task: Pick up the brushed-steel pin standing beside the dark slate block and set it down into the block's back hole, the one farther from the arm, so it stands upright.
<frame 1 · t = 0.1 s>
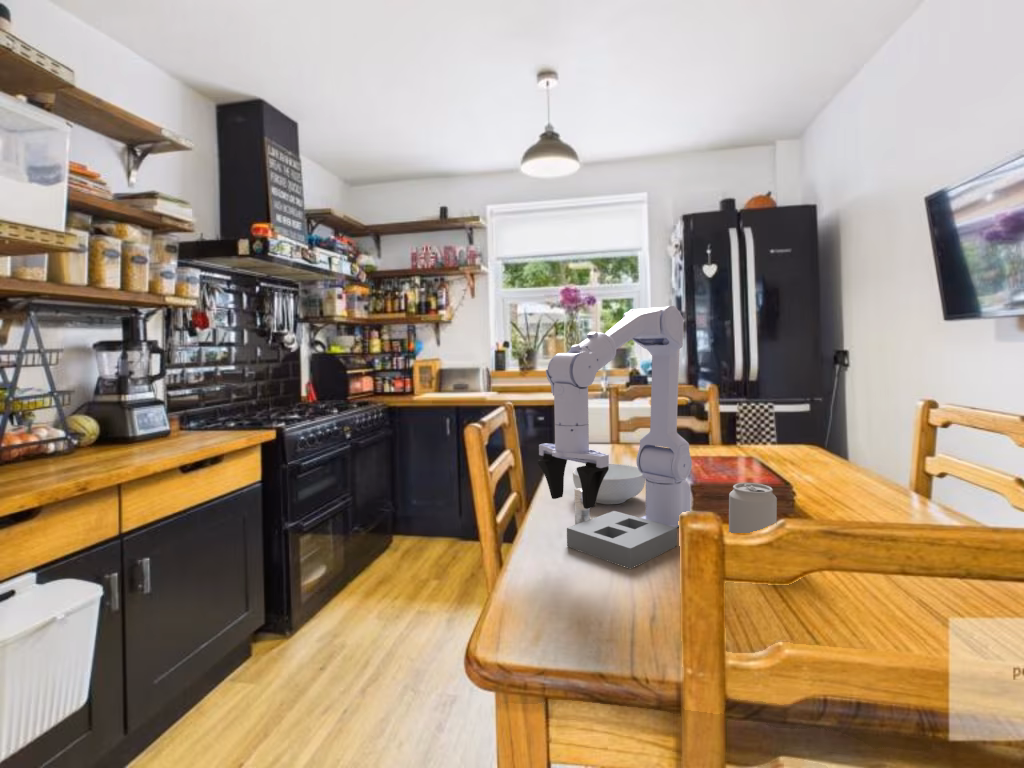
hand: (572, 502, 91), 10 cm above the table, tool pointing down, fingers open, 7 cm apart
pin: (582, 529, 107), on the table
cereal bowl: (608, 500, 127), on the table
can: (752, 555, 93), on the table
hole block: (621, 546, 97), on the table
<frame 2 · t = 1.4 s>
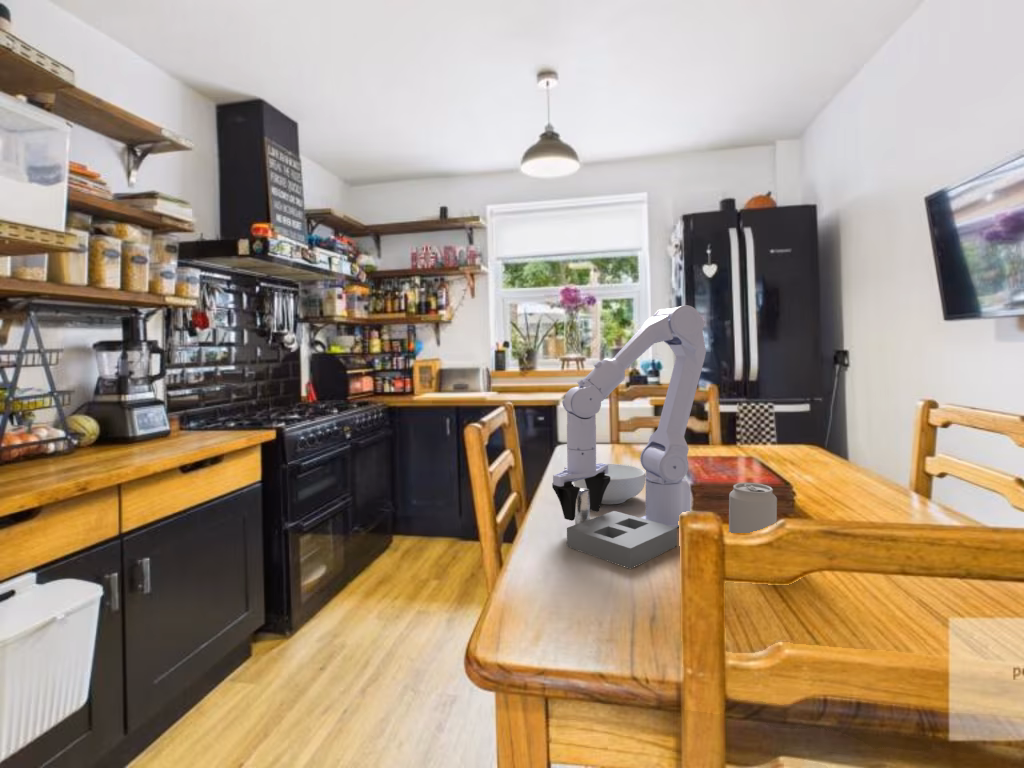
hand: (582, 514, 107), 3 cm above the table, tool pointing down, fingers open, 7 cm apart
nothing on the table moved.
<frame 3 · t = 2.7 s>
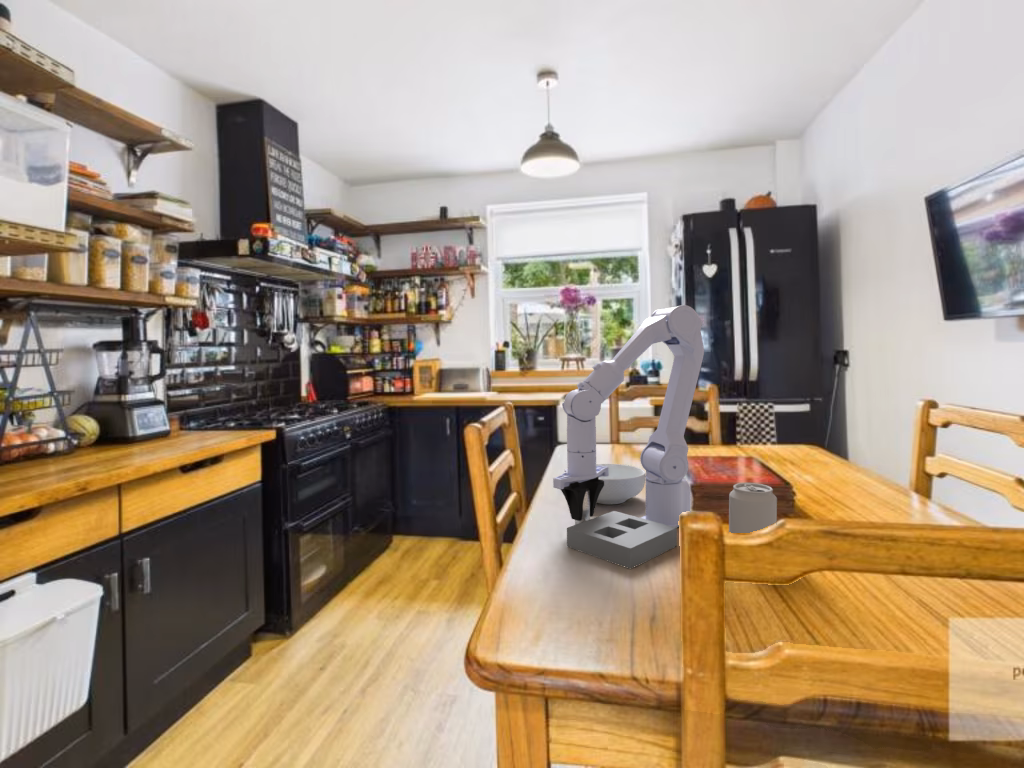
hand: (582, 517, 107), 2 cm above the table, tool pointing down, fingers closed on pin, 3 cm apart
pin: (582, 529, 107), on the table, touching gripper
everything else where it was.
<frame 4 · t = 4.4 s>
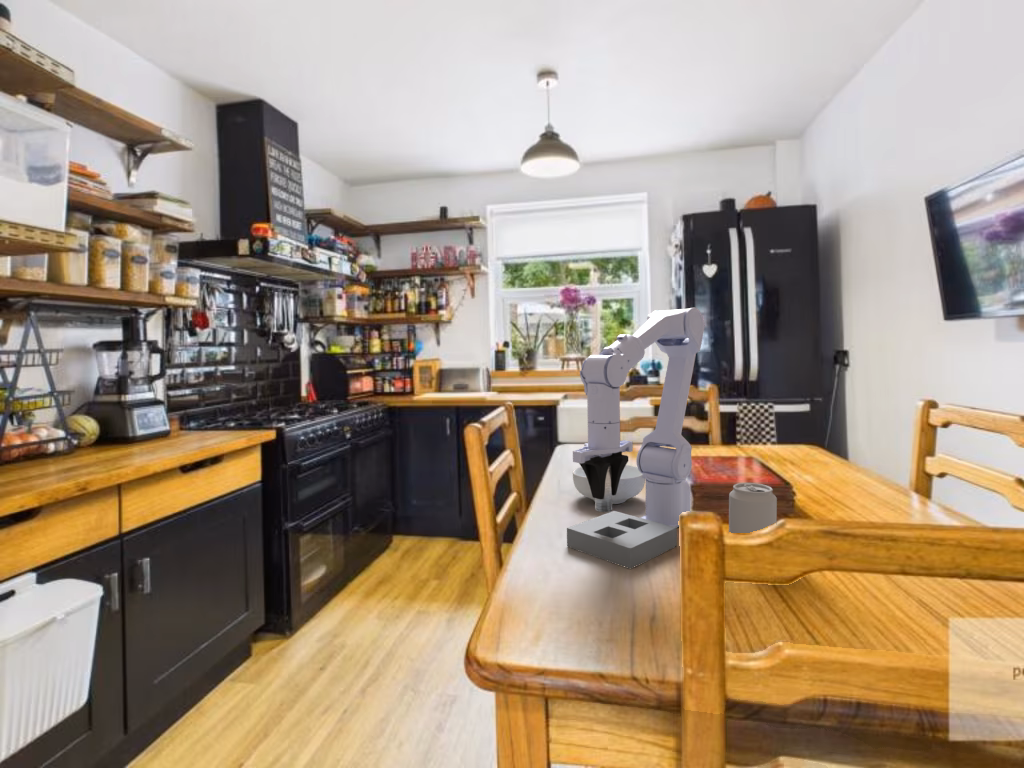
hand: (604, 496, 97), 9 cm above the table, tool pointing down, fingers closed on pin, 3 cm apart
pin: (603, 509, 97), point 7 cm above the table, touching gripper
everything else where it was.
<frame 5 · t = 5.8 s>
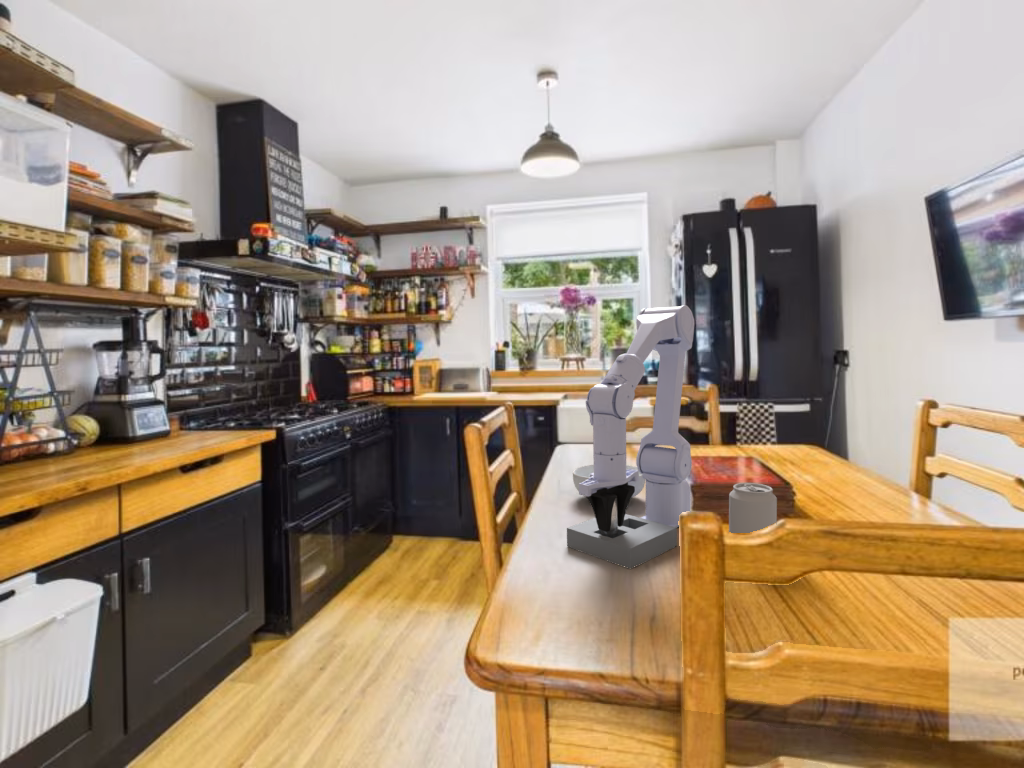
hand: (610, 527, 95), 4 cm above the table, tool pointing down, fingers closed on pin, 3 cm apart
pin: (609, 541, 95), point 2 cm above the table, touching gripper
everything else where it was.
when the fingers open (4 cm above the table, at t = 6.5 s): pin drops 1 cm, resting on hole block.
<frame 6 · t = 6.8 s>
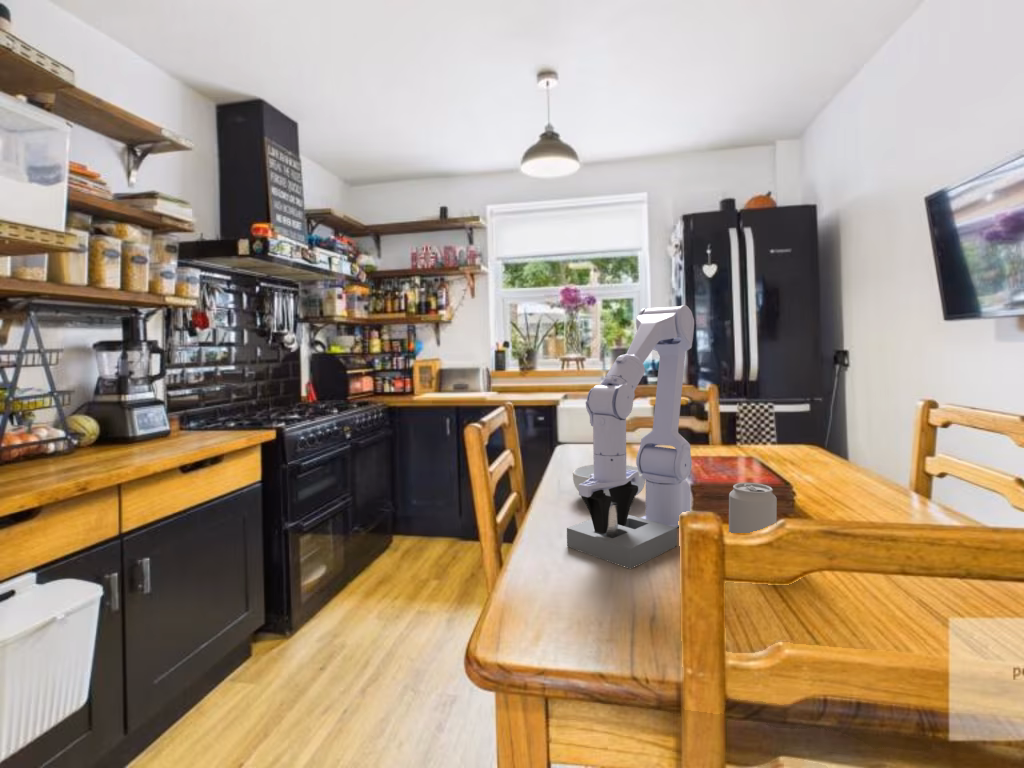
hand: (610, 528, 95), 4 cm above the table, tool pointing down, fingers open, 5 cm apart
pin: (609, 547, 95), point 1 cm above the table, touching hole block
everything else where it was.
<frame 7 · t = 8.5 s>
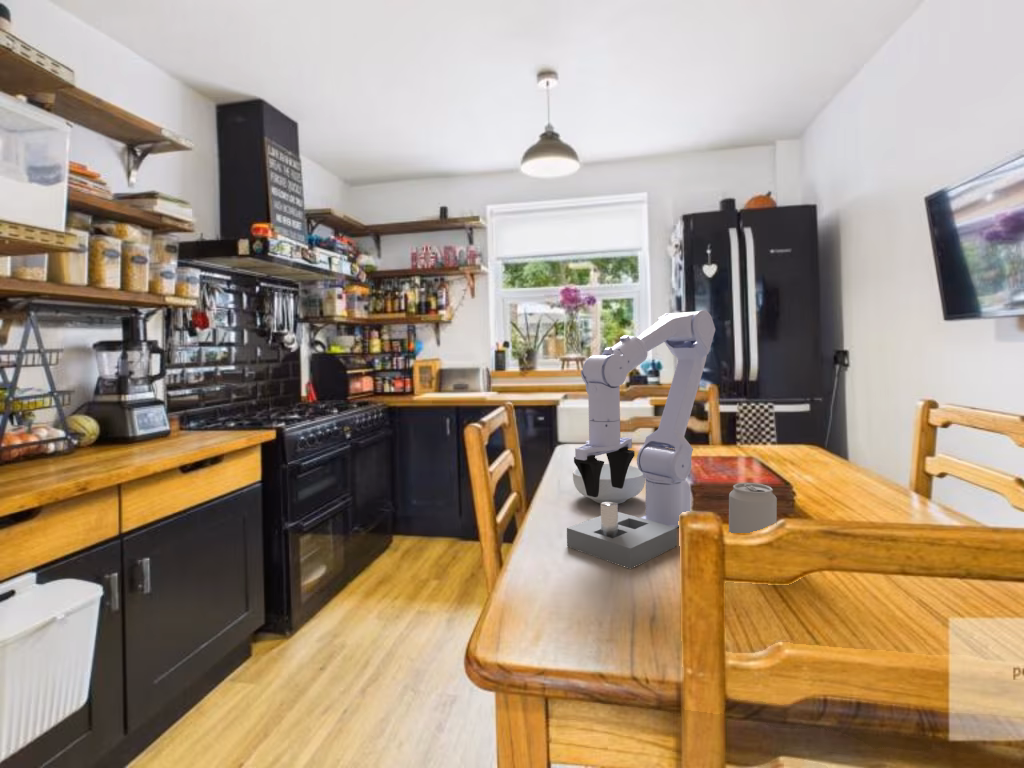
hand: (605, 491, 100), 9 cm above the table, tool pointing down, fingers open, 7 cm apart
nothing on the table moved.
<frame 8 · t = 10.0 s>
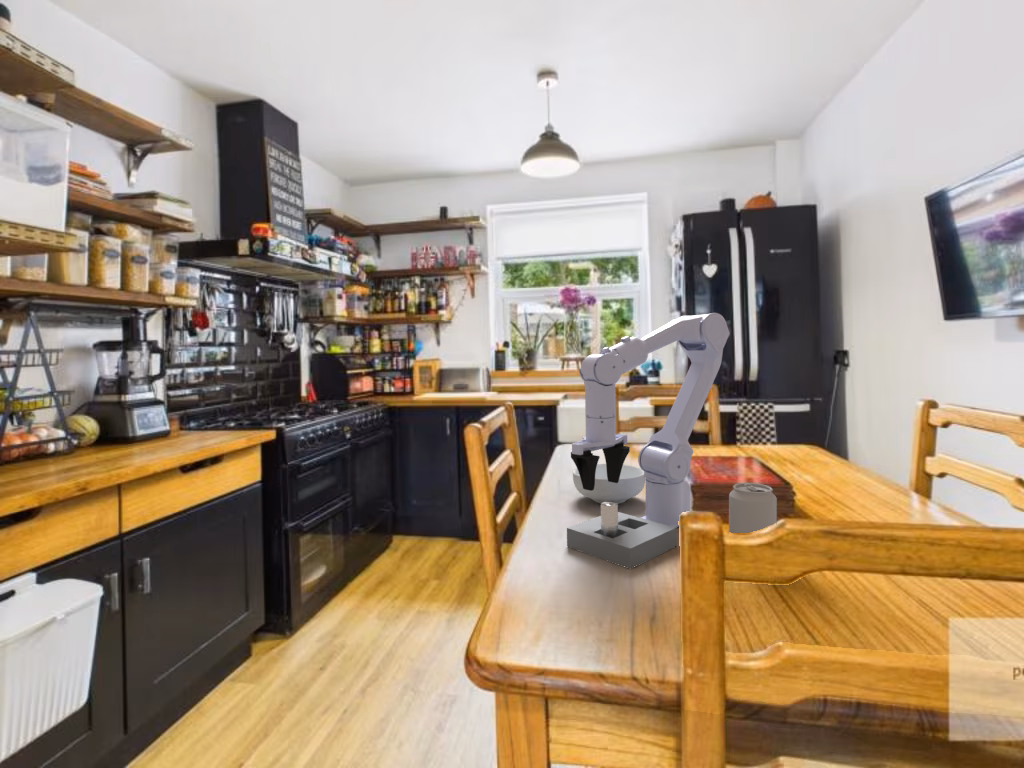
hand: (601, 485, 104), 9 cm above the table, tool pointing down, fingers open, 7 cm apart
nothing on the table moved.
at the end: pin 0.2 cm from the target spot on the hole block, point 0.5 cm above the hole block's base; pin tilted 0°; the gripper is holding nothing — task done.
